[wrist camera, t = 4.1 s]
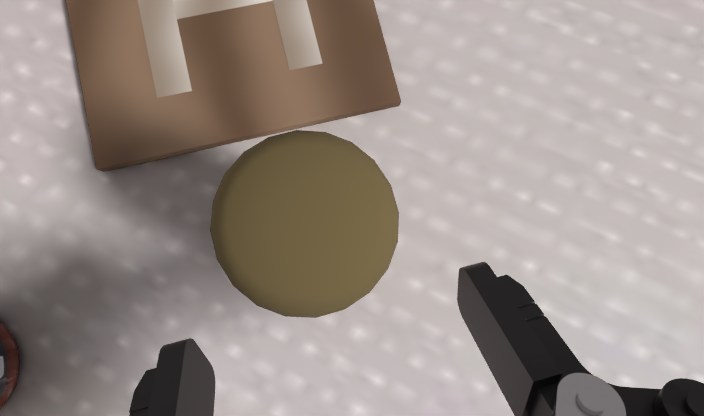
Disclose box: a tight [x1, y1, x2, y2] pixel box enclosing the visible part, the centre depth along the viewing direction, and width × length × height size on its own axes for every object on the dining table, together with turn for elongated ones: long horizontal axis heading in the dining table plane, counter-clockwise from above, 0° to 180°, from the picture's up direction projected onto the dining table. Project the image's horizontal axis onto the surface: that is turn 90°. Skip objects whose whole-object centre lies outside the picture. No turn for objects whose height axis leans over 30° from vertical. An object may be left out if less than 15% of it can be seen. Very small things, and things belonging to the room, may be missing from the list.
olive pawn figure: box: [210, 130, 399, 318], centre depth 15 cm, size 6×6×11 cm
